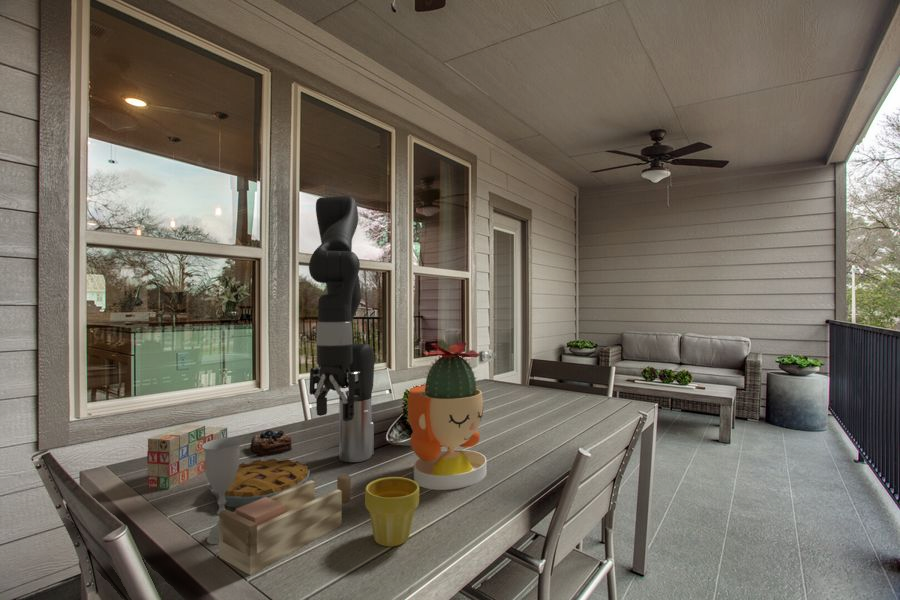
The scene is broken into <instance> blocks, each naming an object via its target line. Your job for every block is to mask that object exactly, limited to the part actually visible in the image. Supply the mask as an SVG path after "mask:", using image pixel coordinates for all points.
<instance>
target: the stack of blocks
mask: <svg viewBox="0 0 900 600" xmlns="http://www.w3.org/2000/svg"><path fill="white" fill-rule="evenodd" d="M221 438H228V427H226V426H206V425H196V424H183V425H180V426H178V427H175V428H173V429H170V430H168V431H165V432H162V433H160V434H156V435H154V436H153V435H152V436H150V437H148V438H147V453H146V454H147V456H146V457H147V458H146V459H147V488H149V489H150V488H152V489H164V490H170V489H172V488H174V487H176V486H178V485H180V484H181V485H182V483H185V482H186V481H188V480H190V479H192V478H194V477H196V476H198V475H199V474H201V473H203V472H205V451H204V449H203V448H202V445H203V444H204V443H206V442H209V441H212V440H216V439H221Z"/></svg>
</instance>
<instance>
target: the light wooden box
mask: <svg viewBox="0 0 900 600" xmlns="http://www.w3.org/2000/svg"><path fill="white" fill-rule="evenodd" d="M315 484H316V482H315V480H311V479H310V480H308V481H305V482H304V483H303V484H301V485H298V486H296V487H293V488H291V489H289V490H286V491H284V492H281V493H279V494H276V495H274V496H271V497H269V498H270V499H272V500H275V501H277V502H280V503H282V504H285V505H286V513H284V514H282V515H280V516H278V517H275V518H273V519H271V520H269V521H267V522H264V523H262V524H260V525H258V526H257V524H256V523H254V522H252V521H250V520H248V519H246V518H244V517H241V516H239V515H237V514H236V510H235V511H230V510H228V509H226V510H223V511H221V512H219V514H218V517H219V520H218V522H219V544H218V557H219V558H220V559H221V560H223V561H225V562H227V563H228V564H230V565H232V566H233V567H235V568H237V569H239V570H241V571H242V572H243V573H245V574H247V575H249V576H251V575H253V574H255V573H257V572H259V571H261V570H262V569H265V568H267V566H270V565H271V564H273V563H276V562H277V561H279V560H281V559H283V558H284V557H287V556H288V555H290V554H292V553H293V552H295V551H297V550H299V549H301V548H302V547H304V546H306V545H308V544H310V543H312V542H314V541H316V540H317V539H319V538H321V537H322V536H325V535H326V534H328V533H330V532H331V531H333V530H336V529H338V528H339V527H342V525H343V524H342V520H343V519H342V513H343V512H342V510H343V509H342V508H343V506H342V505H343V503H342V491H341V490H338V489H337V488H336V489H335V490H333V491H330V492H329V493H326V494H324V495H322V496H319V497H317V498H316V494H315V493H316V490H315V489H316V486H315Z"/></svg>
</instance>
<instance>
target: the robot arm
mask: <svg viewBox="0 0 900 600" xmlns="http://www.w3.org/2000/svg"><path fill="white" fill-rule="evenodd" d="M357 205H358V204H357V202H356V199H354V197H353V196H350V195H340V196H338V195H337V196H335V195H334V196H325V197H323V196H322V197H318V198H317V199H316V201H315V214H316V222H317V225H318V226H317V227H318V233H319V236H320V242H321V244H320V245H319V246H317V248H315V250H314V251H313V253H312V254H311V256H310V260H309V262H308V271H309V275H310V277H311V278H312V279H313V280H314V281H315V282H317V283H320V284H325V285H326V290H327V293H325V294H323V295H320V296H319V298H318V301H317V328H316V364H317V365H318V366H315V367H311V368H310V369H309V392H308V393H309V395H313V396H314V398H315V399H316V403H315V404H316V406H315V407H316V408H315V409H316V415H317V416H319V417H321V416H325V415H327V413H328V397H327V396H328V394H329V392H330V390H332V391H336V393H337V395H338V396H339V404H338V405H339V406H338V407H339V409H338V411H339V415H338V416H339V417H338V419H339V421H338V424H339V426H338V428H339V429H338V435H339V437H338V439H339V440H338V444H339V445H338V447H339V449H338V450H339V451H338V458H339V460H340V461H341V462H347V463H360V462H364V461H368V460H370V458H371V457H372V455H374V452H375V451H374V447H375V443H374V442H375V441H374V440H375V439H374V438H375V437H374V436H375V433H374V432H375V430H374V429H375V424H374V422H373V421H372V396H373V395H372V393H373V388H374V374H375V353H374V349H373V347H372V346H371V345H370V344H369V343H356V342H355V343H353V327H352V322H353V319H354V317H355V316H356V313H357V311H358V309H359V307H360V304H361V300H362V291H361V290H362V289H361V283H360V276H359V273H360V267H361V262H360V259H359V257H358V255H357V254H356V253H355V252H353V250H352V244H353V243H352V242H353V238H354V235H355V234H356V231H357V227H358V225H359V224H358V223H359V211H358V206H357ZM315 385H316V387H315Z"/></svg>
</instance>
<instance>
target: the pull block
mask: <svg viewBox="0 0 900 600" xmlns="http://www.w3.org/2000/svg"><path fill="white" fill-rule="evenodd" d="M351 481H352V480H351V475H348V474H343V475H339V476H338V477H337V482H336V483H337V484H336V485H337V487H336V490H337V489H338V490H341V491H342V504H348V503H349V502H351ZM235 511H236V514H237V515H239V516H241V517H244V518H246V519H248V520H250V521H252V522H254V523H256V524H257V526H258V525H260V524H262V523H264V522H267V521H269V520H271V519H273V518H275V517H278V516H280V515H282V514H284V513H286V505H285V504H282V503H280V502H277V501H275V500H272V499H270V498H267V497H264V498H262V499H259V500H257V501H254V502H252V503H249V504H247V505H244V506H242V507H239V508H235Z"/></svg>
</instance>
